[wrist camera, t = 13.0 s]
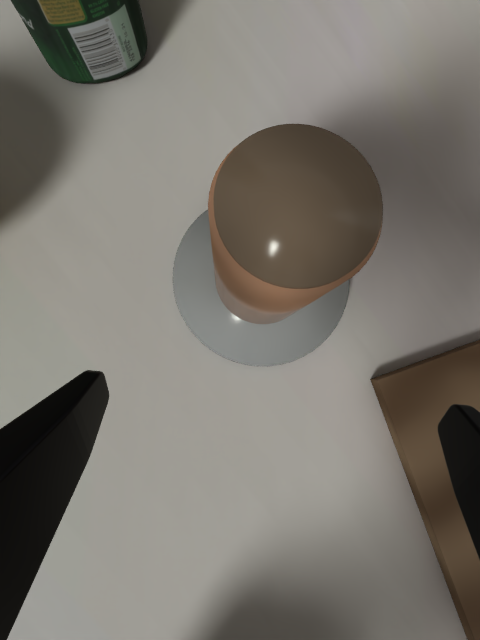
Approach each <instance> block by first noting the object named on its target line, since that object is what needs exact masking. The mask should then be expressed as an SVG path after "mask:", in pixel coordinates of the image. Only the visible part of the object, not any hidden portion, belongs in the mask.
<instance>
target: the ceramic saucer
mask: <svg viewBox="0 0 480 640" xmlns="http://www.w3.org/2000/svg"><path fill="white" fill-rule="evenodd" d="M173 288H174V295H175V299H176V303H177V306H178V308H179V311H180V313H181V316H182V317H183V319H184V321H185V323H186V324H187V326H188V327H189V329H190V330H191V331H192V333H193V334H194V335H195V336H196V337H197V338H198V339H199V340H200V341H201V342H202V343H203V344H204V345H205V346H207V347H208V348H209V349H210V350H212V351H213V352H215V353H217V354H218V355H220V356H222V357H224V358H226V359H229V360H231V361H234V362H238V363H241V364H245V365H252V366H274V365H281V364H284V363H288V362H292V361H294V360H297V359H299V358H301V357H303V356H305V355H307V354H308V353H310V352H312V351H313V350H315V349H316V348H317V347H318V346H320V345H321V344H322V343H323V342H324V341H325V340H326V339H327V338H328V337H329V336H330V334H331V333H332V332H333V330H334V329H335V328H336V326H337V324H338V322H339V321H340V319H341V317H342V314H343V312H344V309H345V306H346V302H347V298H348V292H349V280H347V281H346V282H344V283H343V284H341V285H339V286H338V287H336V288H334V289H333V290H331V291H330V292H328V293H326V294H325V295H323V296H321V297H320V298H318V299H317V300H315V301H313V302H312V303H310V304H308V305H307V306H305V307H304V308H302V309H300V310H299V311H297V312H295V313H294V314H292V315H291V316H289V317H287V318H286V319H284V320H281V321H279V322H276V323H271V324H254V323H250V322H247V321H244V320H242V319H240V318H238V317H237V316H235V315H234V314H232V313H231V312H230V311H229V310H228V309H227V308H226V306H225V305H224V304H223V302H222V301H221V299H220V297H219V295H218V292H217V289H216V284H215V276H214V266H213V255H212V245H211V235H210V225H209V214H208V210H206V211H205V212H204V213H203V214H201V215H200V216H199V217H198V218H197V219H196V220H195V221H194V223H193V224H192V225H191V226H190V227H189V229H188V230H187V232H186V233H185V235H184V236H183V238H182V241H181V243H180V245H179V247H178V250H177V253H176V257H175V261H174V267H173Z"/></svg>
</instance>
